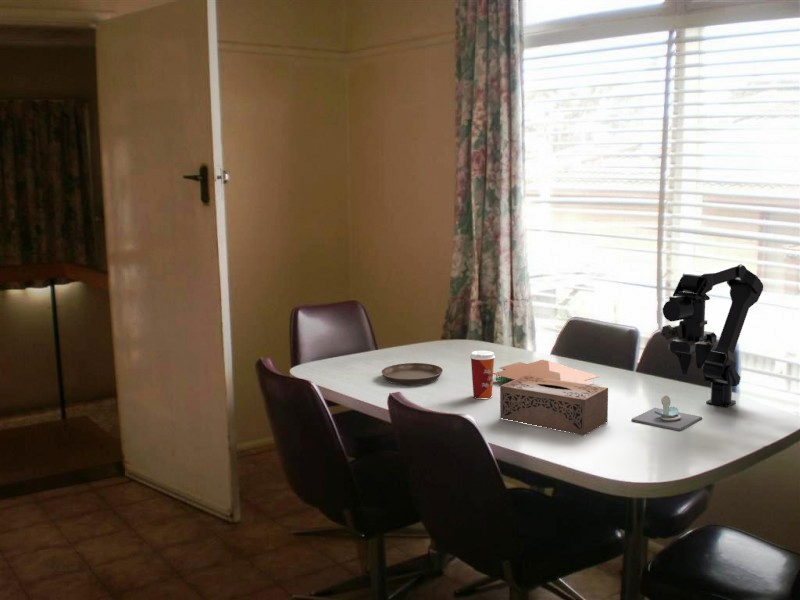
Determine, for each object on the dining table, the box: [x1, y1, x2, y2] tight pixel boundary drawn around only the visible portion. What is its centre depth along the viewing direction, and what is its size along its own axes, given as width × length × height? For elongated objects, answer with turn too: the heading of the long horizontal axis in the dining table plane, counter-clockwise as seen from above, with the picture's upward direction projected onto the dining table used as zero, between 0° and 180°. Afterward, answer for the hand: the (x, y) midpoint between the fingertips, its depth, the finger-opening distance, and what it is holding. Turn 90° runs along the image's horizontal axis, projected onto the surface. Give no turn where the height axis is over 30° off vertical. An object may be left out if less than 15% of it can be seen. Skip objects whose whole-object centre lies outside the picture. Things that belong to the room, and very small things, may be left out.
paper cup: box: [469, 350, 496, 399], centre depth 261 cm, size 8×8×14 cm
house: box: [493, 359, 600, 385], centre depth 276 cm, size 23×33×8 cm
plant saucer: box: [381, 362, 444, 386], centre depth 286 cm, size 21×21×3 cm
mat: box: [631, 407, 703, 431], centre depth 236 cm, size 14×14×1 cm
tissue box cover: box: [499, 375, 609, 436], centre depth 237 cm, size 26×14×10 cm, turn 52°
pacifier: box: [654, 395, 681, 421], centre depth 234 cm, size 7×6×6 cm
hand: (692, 371), depth 240 cm, fingers open, 9 cm apart
